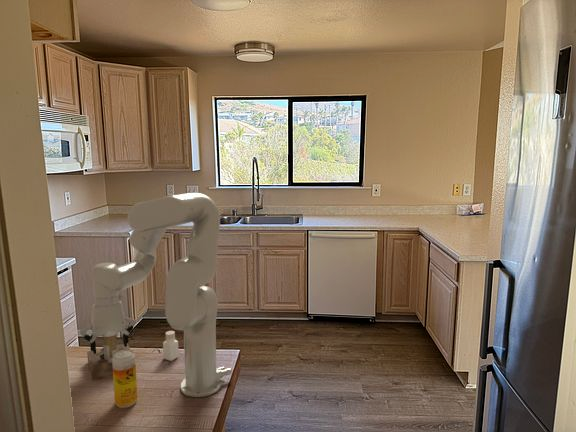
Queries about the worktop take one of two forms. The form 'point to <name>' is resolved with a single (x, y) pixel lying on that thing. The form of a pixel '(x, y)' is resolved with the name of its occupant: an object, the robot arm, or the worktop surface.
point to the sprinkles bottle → (110, 344)
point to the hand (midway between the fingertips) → (110, 348)
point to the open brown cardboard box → (101, 363)
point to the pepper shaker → (170, 346)
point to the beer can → (124, 378)
